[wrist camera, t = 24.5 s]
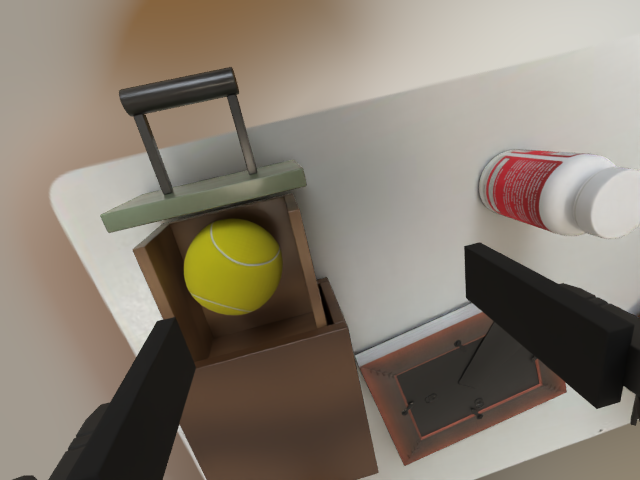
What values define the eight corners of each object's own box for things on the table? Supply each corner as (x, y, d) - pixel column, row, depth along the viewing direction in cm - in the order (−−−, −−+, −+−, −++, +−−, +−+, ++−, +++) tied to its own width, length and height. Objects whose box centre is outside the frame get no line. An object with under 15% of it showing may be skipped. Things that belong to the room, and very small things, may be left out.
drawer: (105, 104, 23) (42, 93, 17) (273, 69, 24) (275, 46, 18) (201, 341, 31) (183, 397, 24) (328, 307, 32) (344, 352, 25)
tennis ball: (211, 196, 25) (192, 218, 19) (293, 227, 27) (300, 257, 21) (184, 272, 27) (158, 317, 20) (263, 297, 29) (262, 345, 22)
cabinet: (187, 313, 31) (157, 379, 22) (327, 276, 32) (348, 327, 23) (236, 431, 36) (226, 520, 28) (354, 397, 37) (378, 473, 29)
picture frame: (532, 272, 35) (353, 352, 35) (551, 282, 33) (359, 368, 33) (551, 378, 41) (397, 448, 41) (568, 393, 39) (405, 467, 38)
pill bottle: (485, 222, 32) (587, 265, 22) (468, 167, 30) (573, 185, 20) (540, 194, 32) (668, 223, 22) (527, 137, 30) (663, 139, 20)
